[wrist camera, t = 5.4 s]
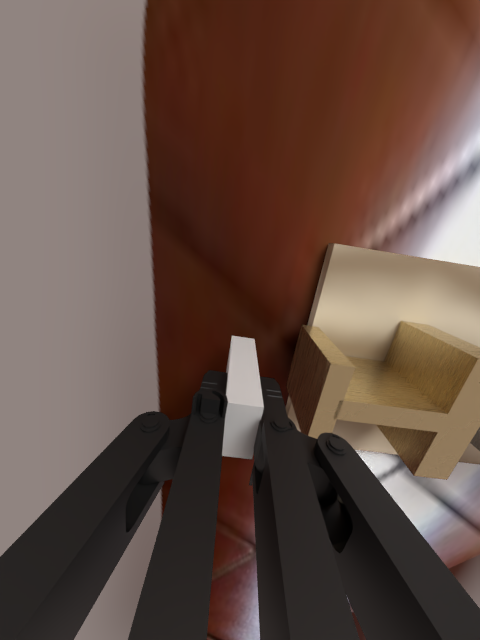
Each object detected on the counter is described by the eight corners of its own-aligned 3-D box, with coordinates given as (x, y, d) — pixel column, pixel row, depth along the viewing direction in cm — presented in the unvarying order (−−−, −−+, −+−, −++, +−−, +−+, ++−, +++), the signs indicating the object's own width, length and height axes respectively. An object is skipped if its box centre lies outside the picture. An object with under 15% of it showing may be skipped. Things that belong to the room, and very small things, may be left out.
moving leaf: (306, 306, 15) (338, 338, 10) (428, 324, 16) (518, 364, 11) (282, 399, 18) (299, 462, 13) (389, 413, 18) (446, 479, 13)
